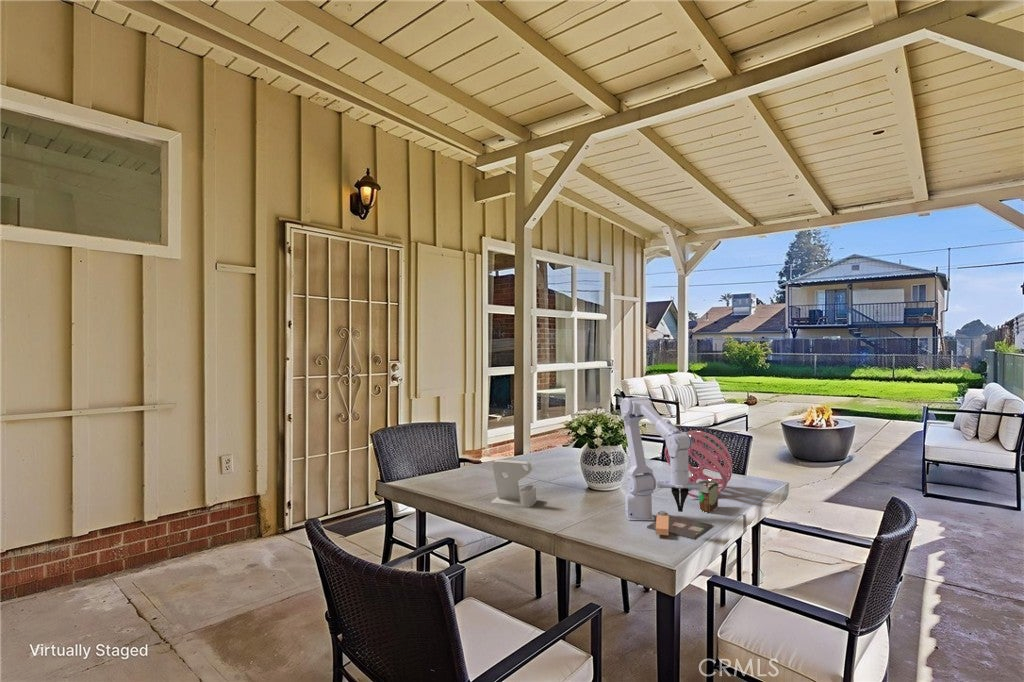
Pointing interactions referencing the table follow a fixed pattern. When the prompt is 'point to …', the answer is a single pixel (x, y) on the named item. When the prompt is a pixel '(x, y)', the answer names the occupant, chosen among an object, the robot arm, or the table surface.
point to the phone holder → (513, 484)
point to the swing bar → (662, 523)
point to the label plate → (684, 527)
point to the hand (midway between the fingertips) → (680, 510)
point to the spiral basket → (703, 463)
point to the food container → (708, 495)
